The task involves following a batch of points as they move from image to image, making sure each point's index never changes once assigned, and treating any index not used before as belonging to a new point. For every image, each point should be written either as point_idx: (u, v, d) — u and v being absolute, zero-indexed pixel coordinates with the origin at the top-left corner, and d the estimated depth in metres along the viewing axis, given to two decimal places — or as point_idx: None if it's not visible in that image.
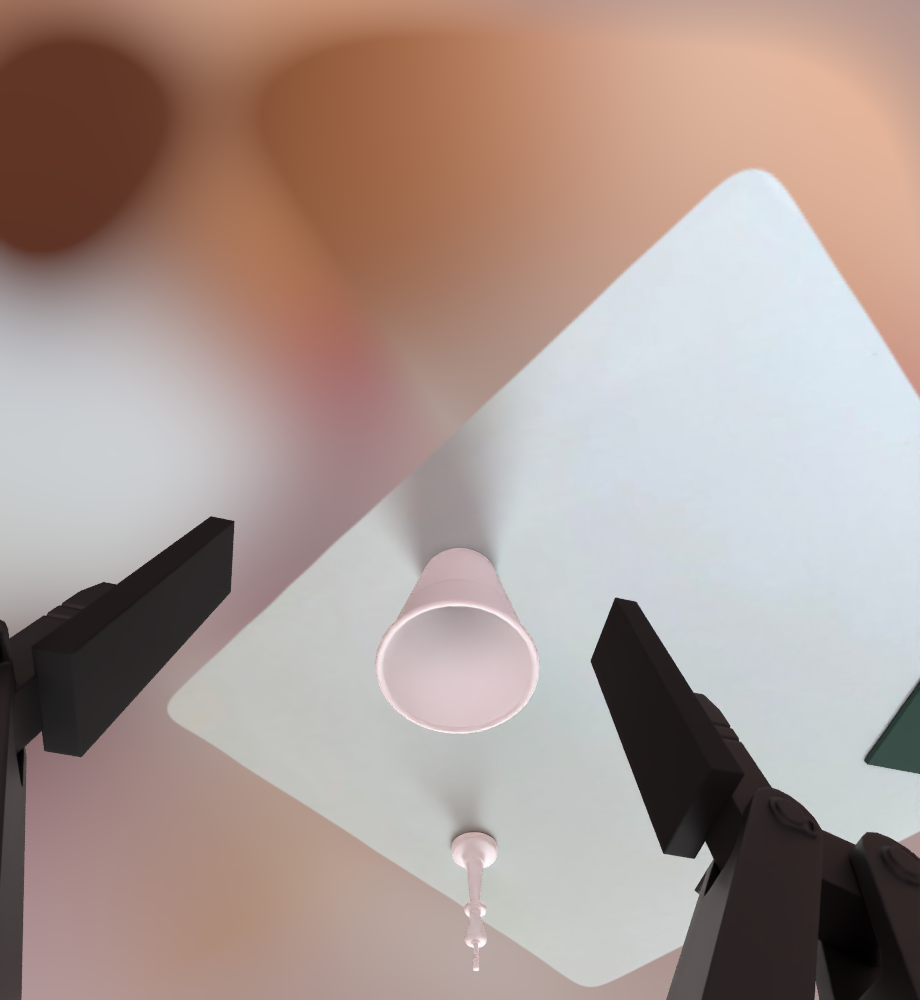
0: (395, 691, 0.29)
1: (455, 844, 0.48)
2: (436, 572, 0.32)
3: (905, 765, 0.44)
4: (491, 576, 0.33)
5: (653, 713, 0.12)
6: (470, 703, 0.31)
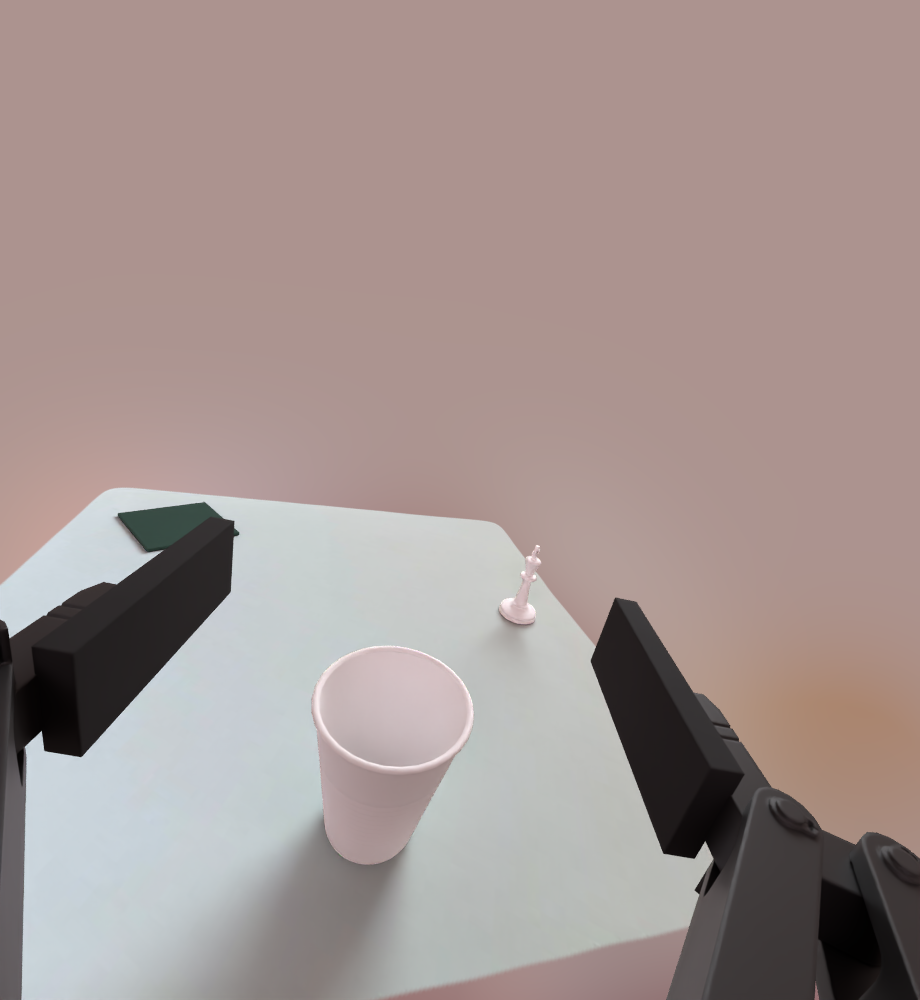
0: (465, 720, 0.29)
1: (528, 620, 0.59)
2: (365, 824, 0.27)
3: None
4: None
5: (653, 713, 0.12)
6: (417, 679, 0.33)
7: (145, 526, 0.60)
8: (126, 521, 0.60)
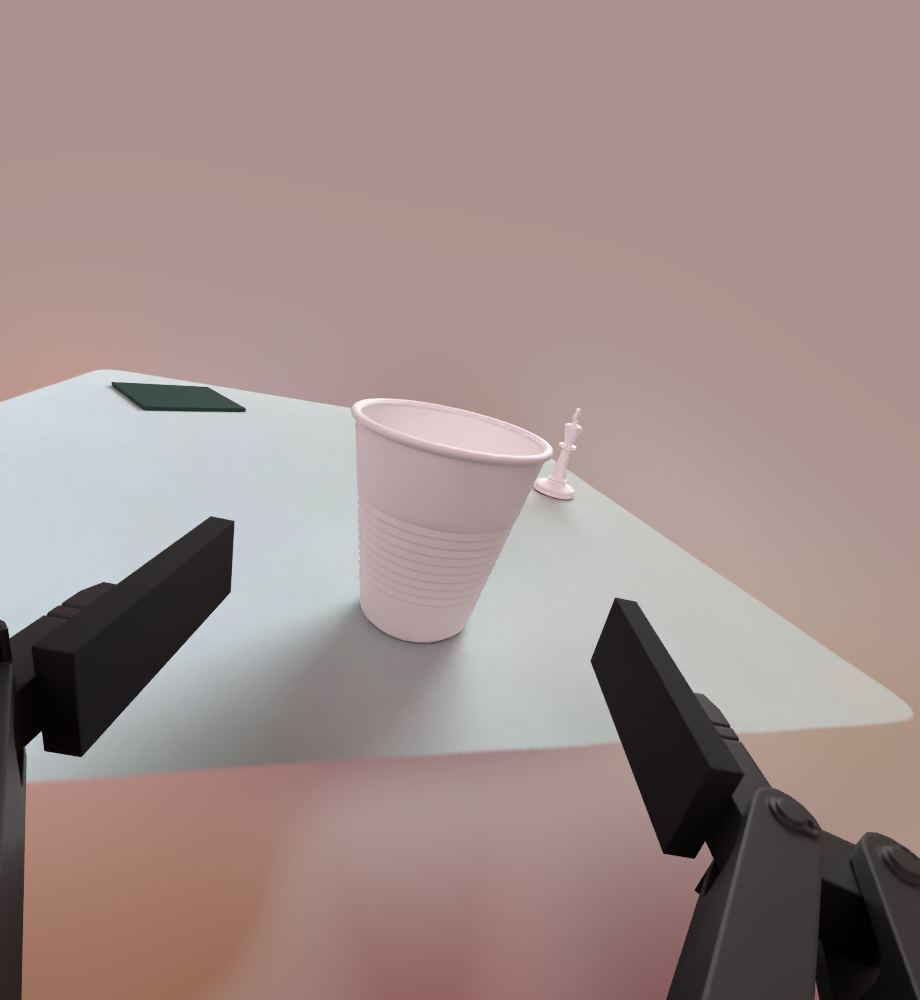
0: None
1: (568, 495, 0.53)
2: (420, 565, 0.21)
3: (227, 400, 0.59)
4: (360, 538, 0.23)
5: (653, 713, 0.12)
6: (470, 448, 0.27)
7: (142, 393, 0.54)
8: (121, 387, 0.54)
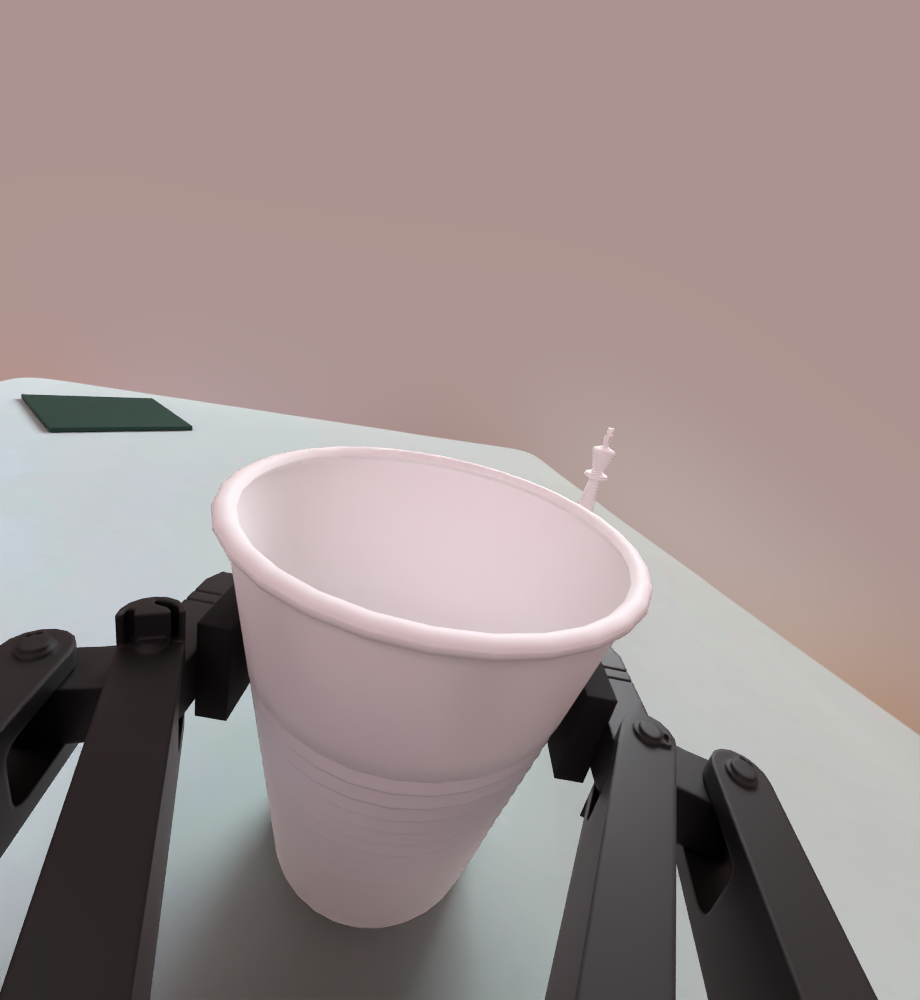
0: (610, 574, 0.12)
1: None
2: (368, 832, 0.10)
3: (170, 416, 0.48)
4: None
5: None
6: (474, 526, 0.16)
7: (56, 408, 0.43)
8: (30, 401, 0.43)
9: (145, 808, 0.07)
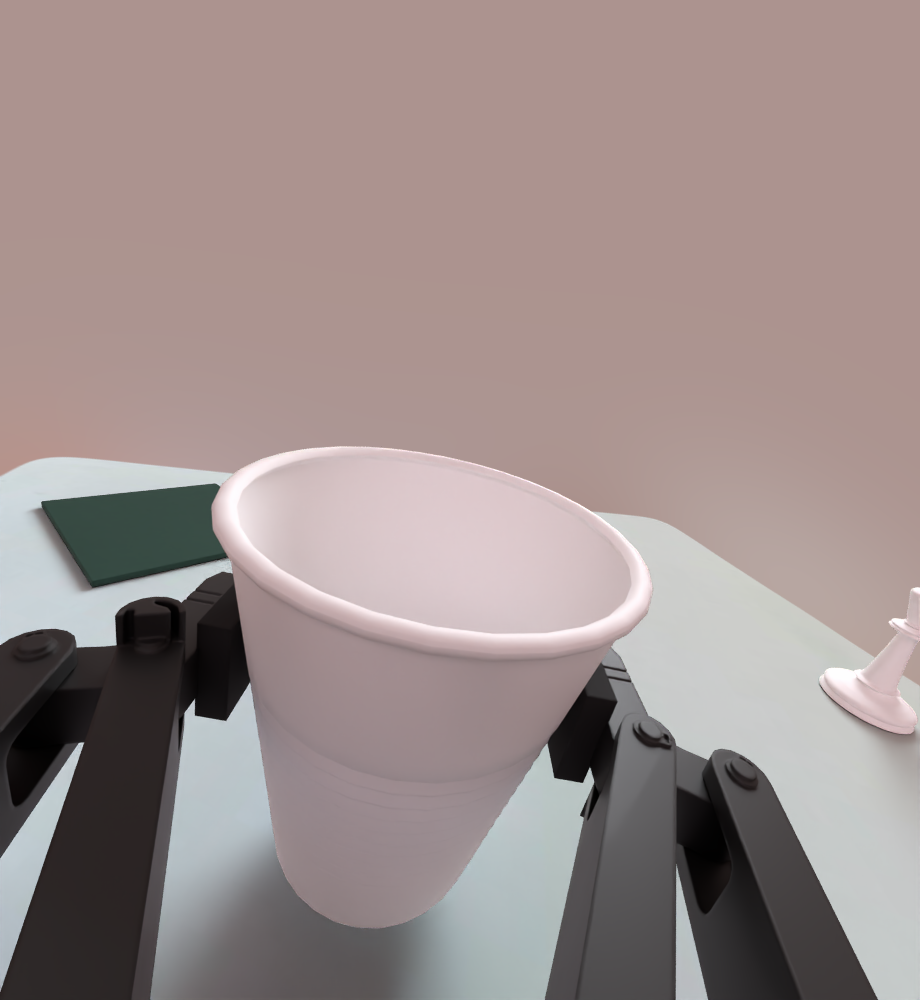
0: (611, 575, 0.12)
1: (914, 725, 0.27)
2: (368, 832, 0.10)
3: None
4: None
5: None
6: (474, 526, 0.16)
7: (95, 528, 0.28)
8: (56, 517, 0.29)
9: (145, 808, 0.07)
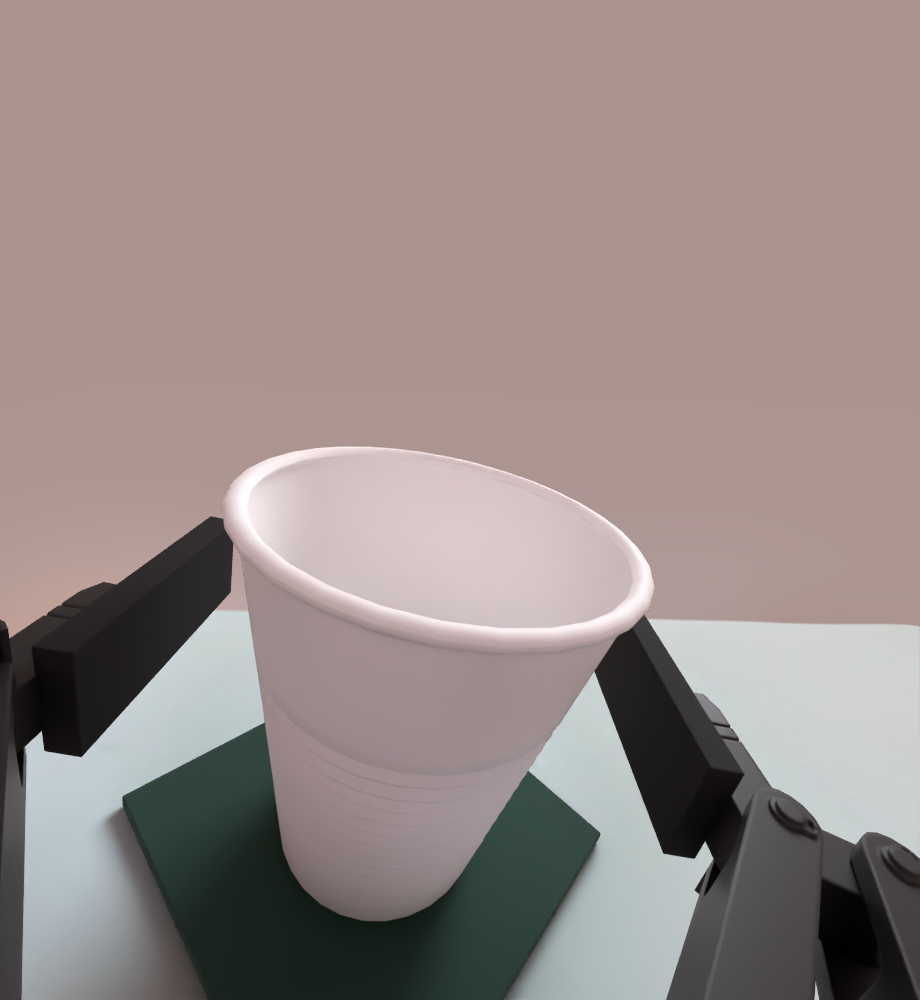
0: (613, 572, 0.12)
1: None
2: (375, 824, 0.10)
3: None
4: None
5: (653, 713, 0.12)
6: (477, 525, 0.16)
7: (256, 895, 0.12)
8: (164, 868, 0.12)
9: None
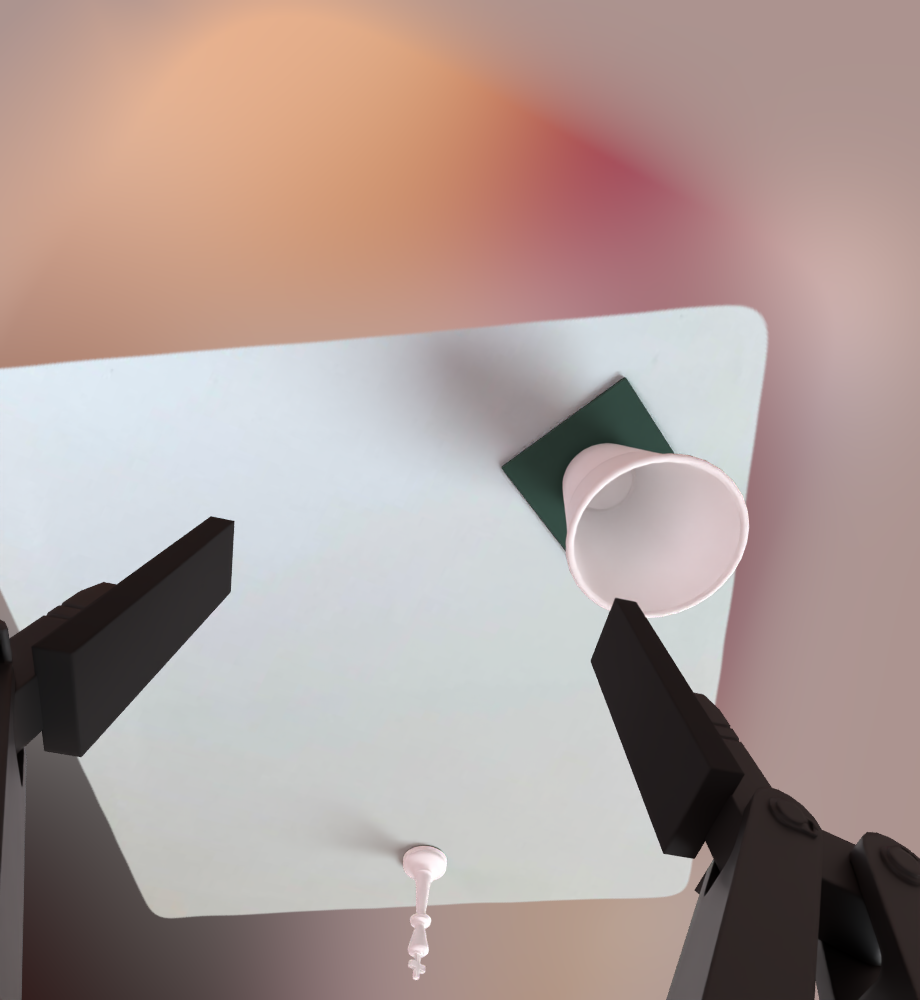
0: None
1: None
2: (569, 489, 0.30)
3: None
4: (615, 449, 0.30)
5: (653, 713, 0.12)
6: (702, 560, 0.28)
7: (579, 438, 0.34)
8: (593, 404, 0.33)
9: None
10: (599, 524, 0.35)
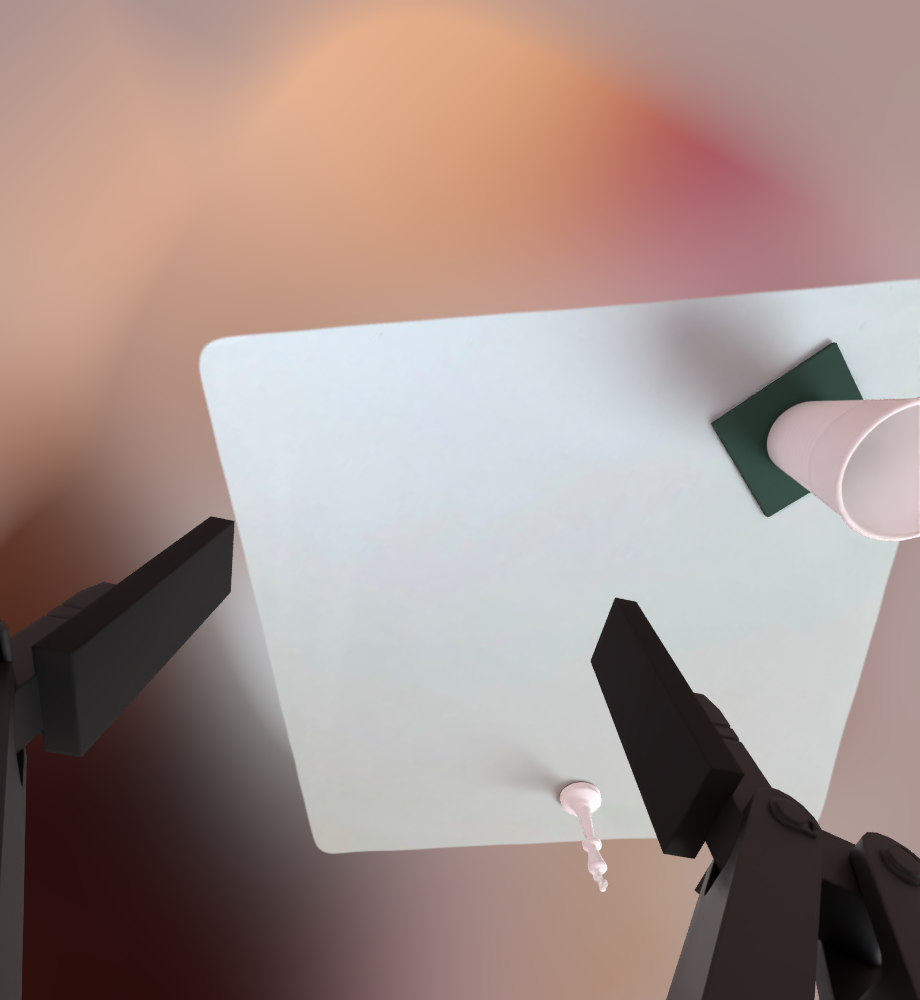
0: (871, 530, 0.32)
1: (562, 804, 0.56)
2: (801, 437, 0.35)
3: (802, 489, 0.42)
4: (844, 401, 0.34)
5: (653, 713, 0.12)
6: None
7: (786, 396, 0.39)
8: (804, 366, 0.38)
9: None
10: None
